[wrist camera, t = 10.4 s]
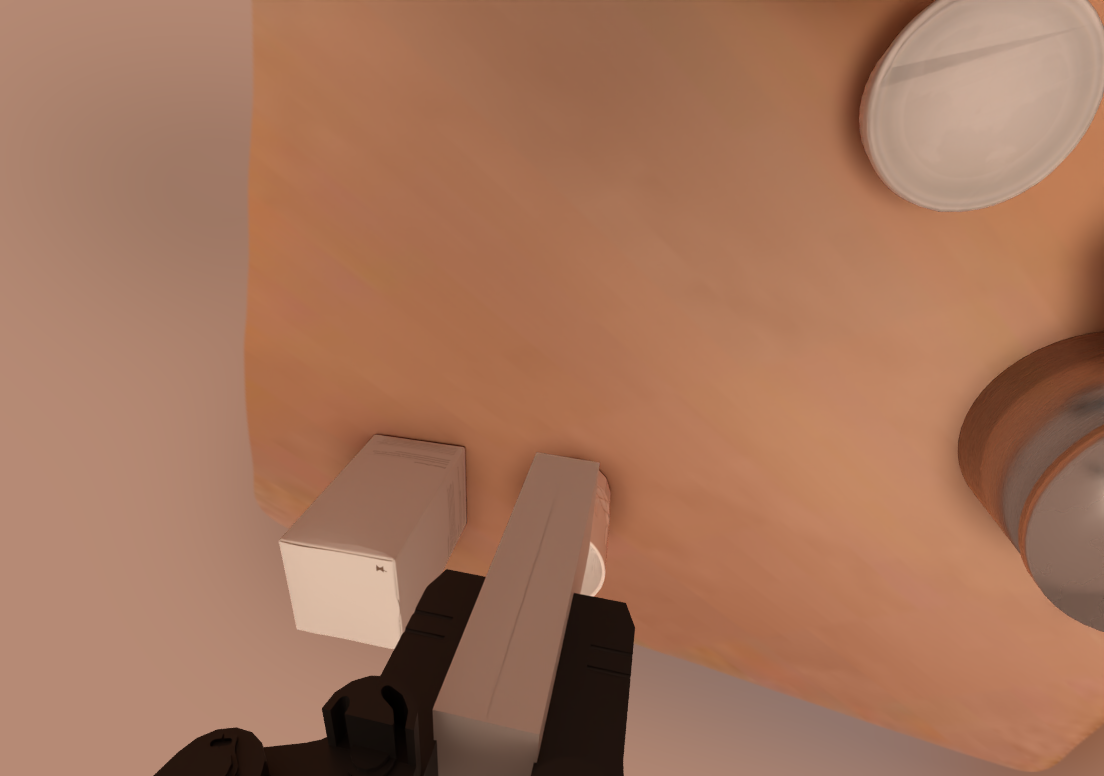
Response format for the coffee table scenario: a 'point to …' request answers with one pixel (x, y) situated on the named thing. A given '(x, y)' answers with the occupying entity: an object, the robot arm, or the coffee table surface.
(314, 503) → the supplement box
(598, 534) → the white cup
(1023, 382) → the pot
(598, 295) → the coffee table surface
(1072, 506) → the lid
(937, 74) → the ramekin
